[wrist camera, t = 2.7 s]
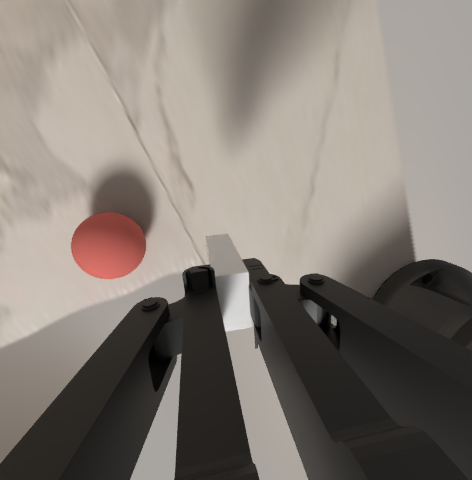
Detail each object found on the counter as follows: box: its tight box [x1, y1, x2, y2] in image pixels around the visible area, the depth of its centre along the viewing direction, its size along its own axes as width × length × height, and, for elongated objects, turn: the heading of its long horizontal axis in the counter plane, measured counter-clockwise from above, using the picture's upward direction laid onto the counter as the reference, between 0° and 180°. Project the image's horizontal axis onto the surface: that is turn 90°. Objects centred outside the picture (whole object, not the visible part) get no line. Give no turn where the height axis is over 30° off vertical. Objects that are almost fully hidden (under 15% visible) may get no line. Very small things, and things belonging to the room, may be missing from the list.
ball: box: [71, 212, 146, 279], centre depth 23 cm, size 6×6×6 cm
